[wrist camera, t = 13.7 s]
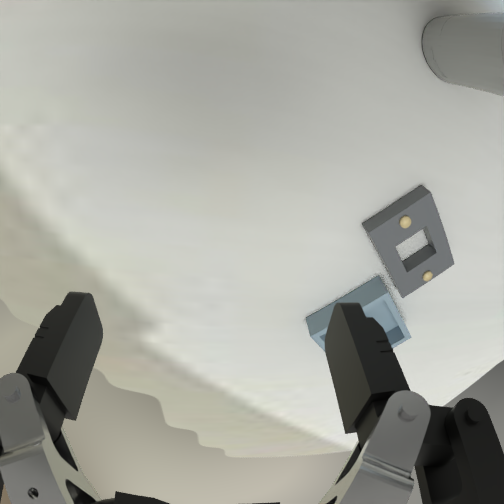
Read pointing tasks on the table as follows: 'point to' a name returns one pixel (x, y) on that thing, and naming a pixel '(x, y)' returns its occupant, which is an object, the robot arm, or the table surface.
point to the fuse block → (401, 228)
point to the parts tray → (373, 304)
